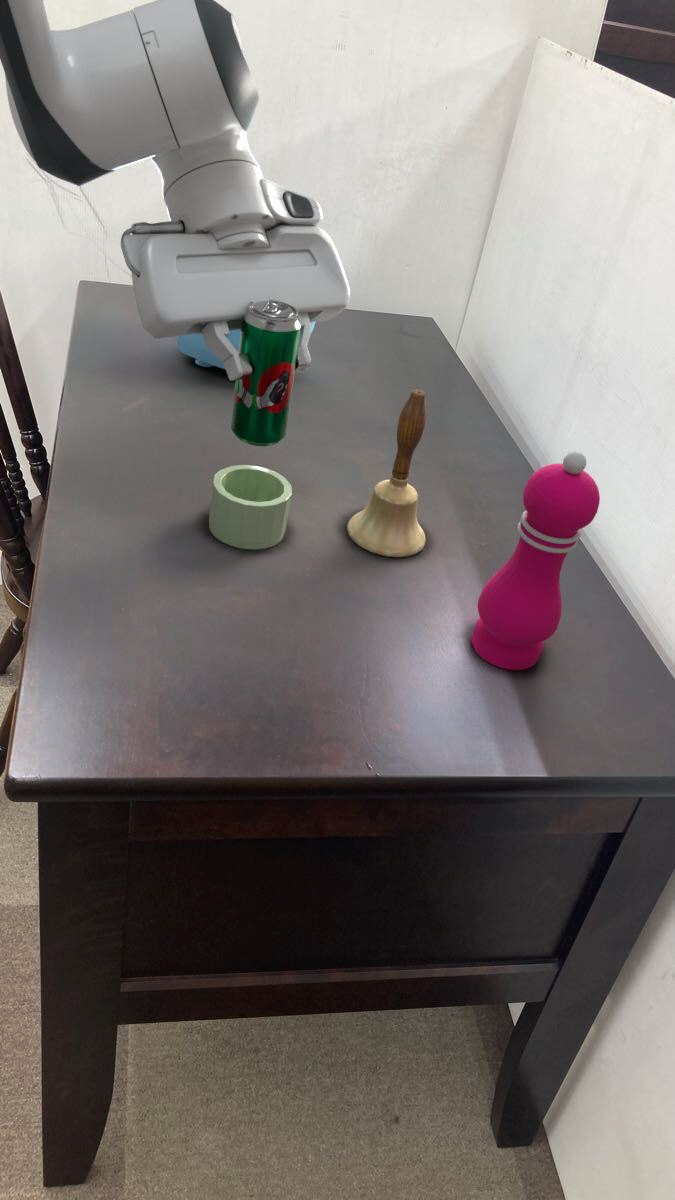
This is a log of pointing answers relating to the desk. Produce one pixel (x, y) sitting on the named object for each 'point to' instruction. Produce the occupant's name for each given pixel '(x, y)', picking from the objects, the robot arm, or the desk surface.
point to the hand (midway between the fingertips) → (272, 373)
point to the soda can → (266, 372)
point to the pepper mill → (535, 566)
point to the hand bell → (395, 495)
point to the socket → (249, 506)
